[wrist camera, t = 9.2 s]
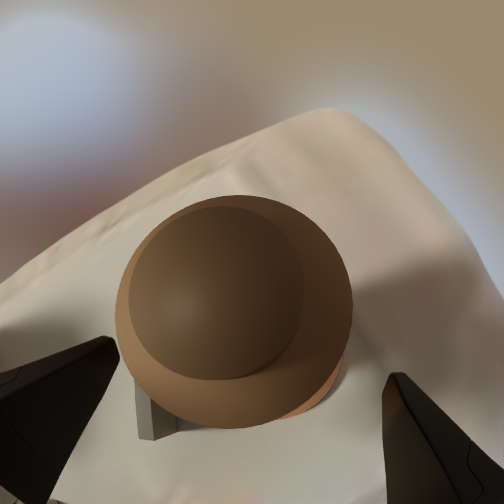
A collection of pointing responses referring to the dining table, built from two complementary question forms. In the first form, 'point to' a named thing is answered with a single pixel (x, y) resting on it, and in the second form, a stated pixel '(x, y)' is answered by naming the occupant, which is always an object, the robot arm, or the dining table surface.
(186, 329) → the walnut mill
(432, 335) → the dining table surface
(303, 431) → the dining table surface
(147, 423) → the grey flat bar
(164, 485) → the dining table surface
